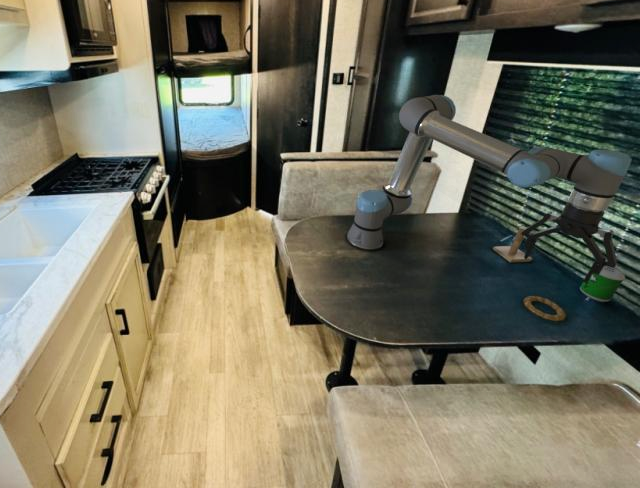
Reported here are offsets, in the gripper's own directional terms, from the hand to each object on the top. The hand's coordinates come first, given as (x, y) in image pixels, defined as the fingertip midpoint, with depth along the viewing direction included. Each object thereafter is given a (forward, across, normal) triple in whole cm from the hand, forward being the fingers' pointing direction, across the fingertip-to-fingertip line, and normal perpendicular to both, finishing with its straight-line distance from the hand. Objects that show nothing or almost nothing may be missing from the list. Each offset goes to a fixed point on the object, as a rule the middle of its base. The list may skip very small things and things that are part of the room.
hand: (554, 268), depth 95 cm
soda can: (+20, +9, +29) cm, 36 cm away
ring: (+18, +2, +6) cm, 19 cm away
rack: (+19, -16, +33) cm, 42 cm away
